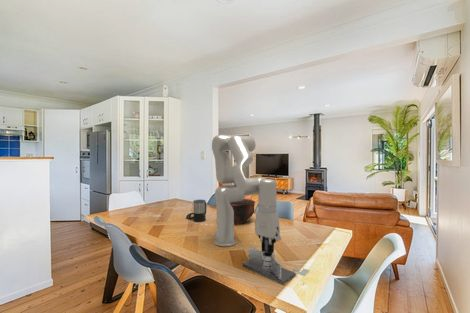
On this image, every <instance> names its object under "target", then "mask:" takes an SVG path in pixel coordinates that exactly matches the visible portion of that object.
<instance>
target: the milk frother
mask: <svg viewBox="0 0 470 313" xmlns="http://www.w3.org/2000/svg"><path fill="white" fill-rule="evenodd" d="M192 202H193V212H191V213H188V214H187V215H186V219H187V220H188V219H189V220H192V219H193V222H196V223H203V222H205V221H206V220H207V219H206V215H207V201H206V200H205V199H195V200H194V199H193V201H192ZM192 215H193V216H192ZM191 216H192V217H191Z"/></svg>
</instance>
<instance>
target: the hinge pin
mask: <svg viewBox="0 0 470 313" xmlns="http://www.w3.org/2000/svg"><path fill="white" fill-rule="evenodd" d="M268 244H269V238H267V237H264V255H265V256H271V254H268Z"/></svg>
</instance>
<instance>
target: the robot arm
mask: <svg viewBox="0 0 470 313" xmlns="http://www.w3.org/2000/svg"><path fill="white" fill-rule="evenodd" d="M256 146H257V144H256V141H255V138H254V137H252V136H251V135H242V134H241V135H239V134H237V135H236V134H217V135H215V136H213V139H212V140H211V150H212V153H213V157H214V163H215V177H216V181H217V183H219V184H229V185H221V186H218V187H217V188H216V189H215V191H214V197H215V198H214V199H215V203H216V205H215V206H216V231H215V232H214V233H213V236H214V237H215V239H214V240H213V243H214V245H216V246H217V247H223V248H224V247H231V246H234V245H236V244H237V243H238V240H237V238H236V237H235V227H234V226H235V223H234V210H233V208H232V206H231V205H230V203H231V202H238V201H242V200H243V199H246V196H253V195H258V203H257V204H256V206H257V208H258V209H257V211H256V214H255V221H254V233H255V235H256V236H258V238H259V241H260V243H261V251H262V252H264V237H267V238H269V244H268V254H271V253H275V252H274V251H275V244H276V243H277V242H280V241H281V240H282V238H281V235H280V234H281V233H280V231H281V229H280V228H281V226H280V218H279V213H278V211H277V210H278V209H277V208H278V206H277V182H276V180H275V179H272V178H267V177H263V176H258V177H257V176H256V177H252V176H251V177H246V176H245V173H244V171H243V169H246V168H247V167H249V166H250V165H251V164H252V163H253V161H254V156H253V155H252V152H253V151H254V150H255V149H256ZM227 151H230V152H231V155H232V157H233V159H234V161H235V163H236V165H231V158H230V156H229V154H228V153H227Z"/></svg>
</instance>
